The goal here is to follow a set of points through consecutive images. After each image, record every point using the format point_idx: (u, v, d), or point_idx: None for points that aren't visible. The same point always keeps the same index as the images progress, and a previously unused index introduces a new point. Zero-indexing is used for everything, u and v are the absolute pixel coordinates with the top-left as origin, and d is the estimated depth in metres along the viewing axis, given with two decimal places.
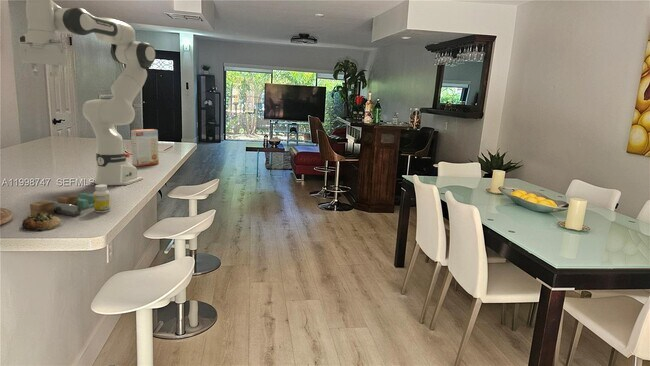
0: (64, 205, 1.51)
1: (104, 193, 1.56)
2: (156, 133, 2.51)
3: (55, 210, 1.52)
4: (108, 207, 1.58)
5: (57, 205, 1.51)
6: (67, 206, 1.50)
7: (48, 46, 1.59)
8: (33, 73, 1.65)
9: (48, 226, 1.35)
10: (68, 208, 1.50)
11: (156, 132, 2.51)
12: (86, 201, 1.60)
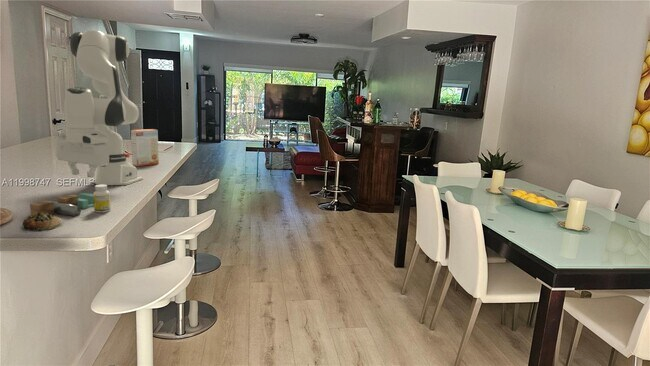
0: (64, 205, 1.51)
1: (104, 193, 1.56)
2: (156, 133, 2.51)
3: (55, 210, 1.52)
4: (108, 207, 1.58)
5: (57, 205, 1.51)
6: (67, 206, 1.50)
7: None
8: None
9: (48, 226, 1.36)
10: (68, 208, 1.50)
11: (156, 132, 2.51)
12: (86, 201, 1.60)
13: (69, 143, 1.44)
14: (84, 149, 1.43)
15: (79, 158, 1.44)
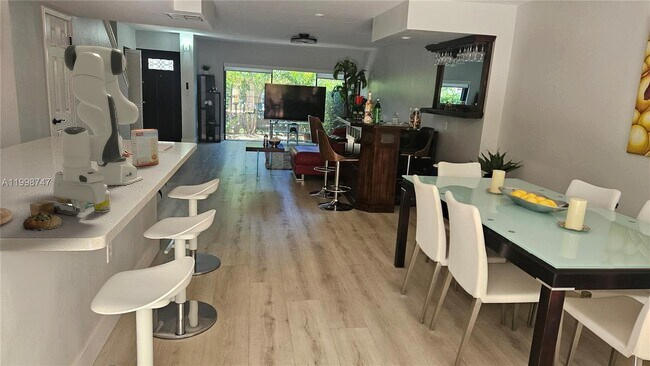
0: (62, 205, 1.51)
1: None
2: (156, 133, 2.51)
3: (54, 210, 1.52)
4: (108, 207, 1.58)
5: (56, 205, 1.51)
6: (65, 206, 1.50)
7: None
8: None
9: (49, 226, 1.36)
10: (66, 208, 1.50)
11: (156, 132, 2.51)
12: None
13: (66, 181, 1.48)
14: (81, 187, 1.46)
15: (76, 196, 1.47)
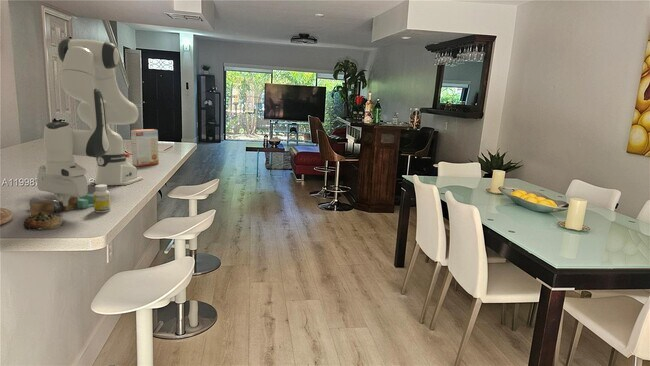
0: None
1: (104, 193, 1.56)
2: (156, 133, 2.51)
3: None
4: (108, 207, 1.58)
5: None
6: None
7: None
8: None
9: (49, 226, 1.36)
10: None
11: (156, 132, 2.51)
12: (86, 201, 1.60)
13: (49, 175, 1.50)
14: (63, 181, 1.49)
15: (58, 190, 1.50)
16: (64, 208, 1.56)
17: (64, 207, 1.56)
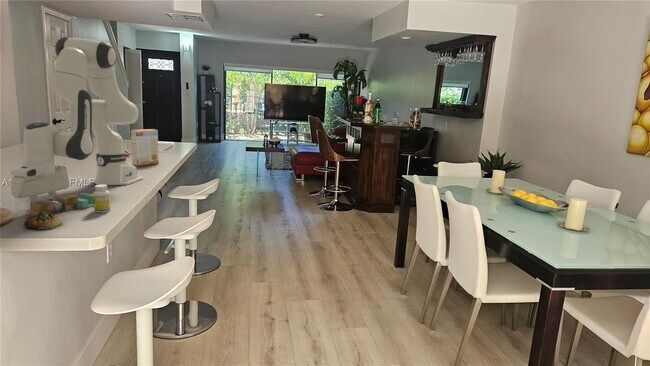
0: None
1: (104, 193, 1.56)
2: (156, 133, 2.51)
3: None
4: (108, 207, 1.58)
5: None
6: None
7: (57, 173, 1.58)
8: None
9: (50, 225, 1.36)
10: None
11: (156, 132, 2.51)
12: (86, 201, 1.60)
13: None
14: None
15: None
16: (64, 208, 1.56)
17: (64, 207, 1.56)
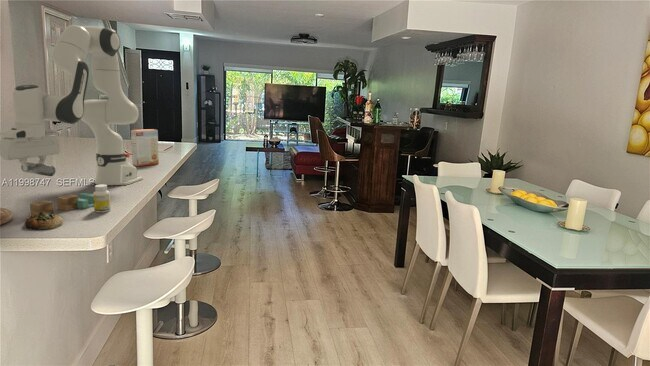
0: (38, 165, 1.52)
1: (104, 193, 1.56)
2: (156, 133, 2.51)
3: (29, 170, 1.52)
4: (108, 207, 1.58)
5: (31, 165, 1.52)
6: (41, 166, 1.51)
7: (48, 137, 1.56)
8: (28, 168, 1.51)
9: (50, 225, 1.36)
10: (42, 168, 1.50)
11: (156, 132, 2.51)
12: (86, 201, 1.60)
13: None
14: None
15: None
16: (64, 208, 1.56)
17: (64, 207, 1.56)
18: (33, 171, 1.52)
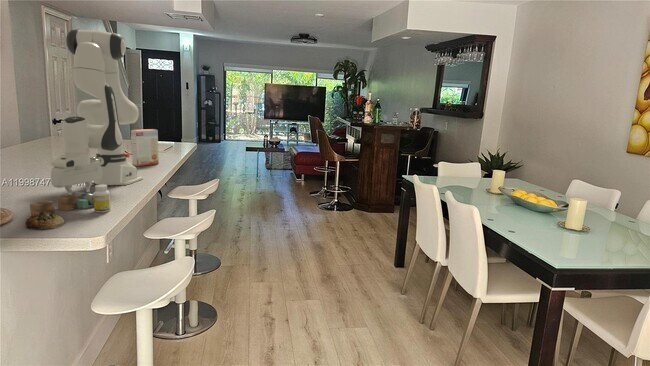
0: (84, 194, 1.63)
1: (104, 193, 1.56)
2: (156, 133, 2.51)
3: None
4: (108, 207, 1.58)
5: (77, 194, 1.64)
6: (87, 195, 1.63)
7: (92, 164, 1.67)
8: (73, 194, 1.62)
9: (51, 225, 1.37)
10: (88, 197, 1.62)
11: (156, 132, 2.51)
12: (86, 201, 1.60)
13: None
14: None
15: None
16: (64, 208, 1.56)
17: (64, 207, 1.56)
18: None
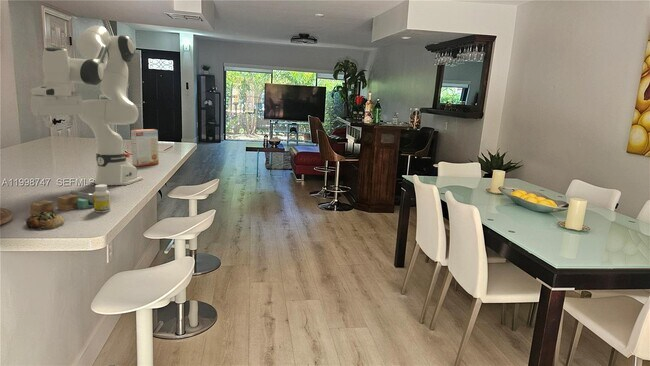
0: (85, 194, 1.64)
1: (104, 193, 1.56)
2: (156, 133, 2.51)
3: None
4: (108, 207, 1.58)
5: (79, 194, 1.64)
6: (88, 194, 1.63)
7: (73, 98, 1.67)
8: (50, 125, 1.60)
9: (51, 225, 1.37)
10: (89, 196, 1.63)
11: (156, 132, 2.51)
12: (86, 201, 1.60)
13: None
14: None
15: None
16: (64, 208, 1.56)
17: (64, 207, 1.56)
18: None
